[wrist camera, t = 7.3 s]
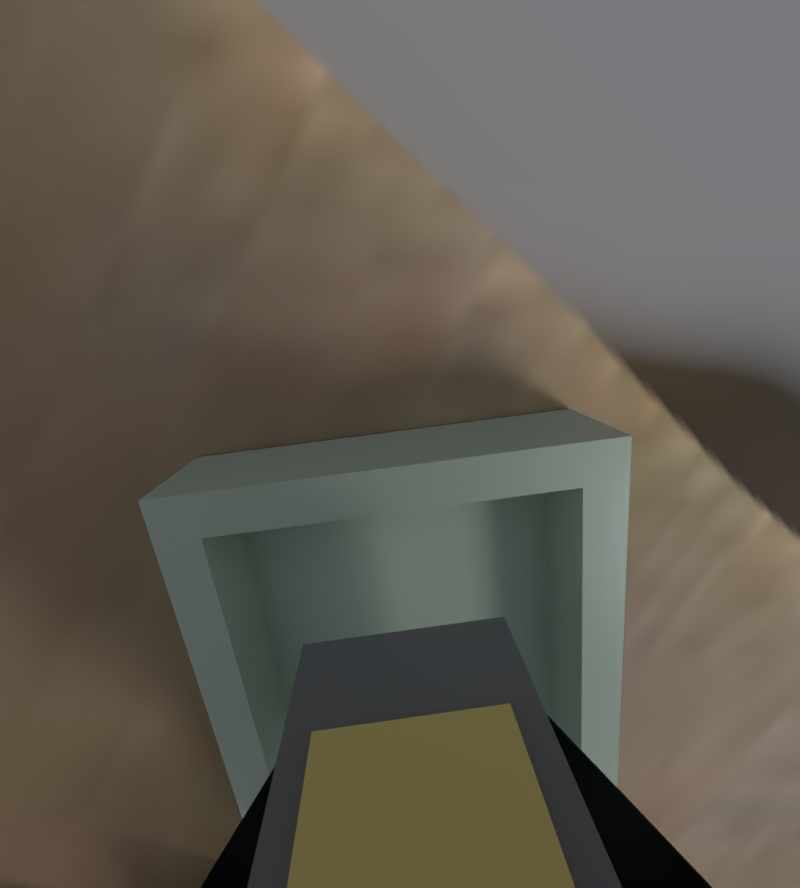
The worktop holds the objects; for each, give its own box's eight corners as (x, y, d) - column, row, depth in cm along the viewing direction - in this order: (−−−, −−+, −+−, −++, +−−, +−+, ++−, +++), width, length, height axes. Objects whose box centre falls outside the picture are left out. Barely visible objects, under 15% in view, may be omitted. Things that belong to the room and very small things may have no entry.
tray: (297, 824, 15) (279, 933, 12) (196, 457, 11) (138, 500, 8) (571, 783, 15) (613, 884, 12) (570, 408, 11) (631, 436, 8)
